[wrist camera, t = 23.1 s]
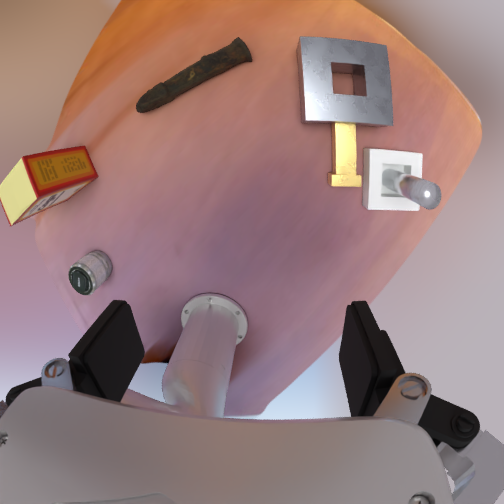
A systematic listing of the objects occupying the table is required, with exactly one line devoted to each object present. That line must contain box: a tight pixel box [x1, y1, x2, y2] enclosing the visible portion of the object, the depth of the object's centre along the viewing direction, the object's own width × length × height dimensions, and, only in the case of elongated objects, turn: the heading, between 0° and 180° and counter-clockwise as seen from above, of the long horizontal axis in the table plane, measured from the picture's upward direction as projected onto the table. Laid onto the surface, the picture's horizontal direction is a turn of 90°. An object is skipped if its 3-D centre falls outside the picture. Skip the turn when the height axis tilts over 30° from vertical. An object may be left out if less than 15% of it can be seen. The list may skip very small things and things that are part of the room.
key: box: [328, 122, 361, 187], centre depth 37 cm, size 13×4×3 cm, turn 3°
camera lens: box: [69, 251, 112, 295], centre depth 46 cm, size 6×6×8 cm
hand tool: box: [136, 37, 252, 113], centre depth 34 cm, size 19×4×5 cm, turn 115°
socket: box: [297, 37, 393, 127], centre depth 32 cm, size 12×12×6 cm
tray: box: [362, 148, 422, 211], centre depth 38 cm, size 9×9×3 cm
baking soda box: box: [0, 146, 98, 226], centre depth 35 cm, size 10×6×16 cm
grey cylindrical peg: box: [382, 168, 441, 209], centre depth 33 cm, size 3×3×13 cm
